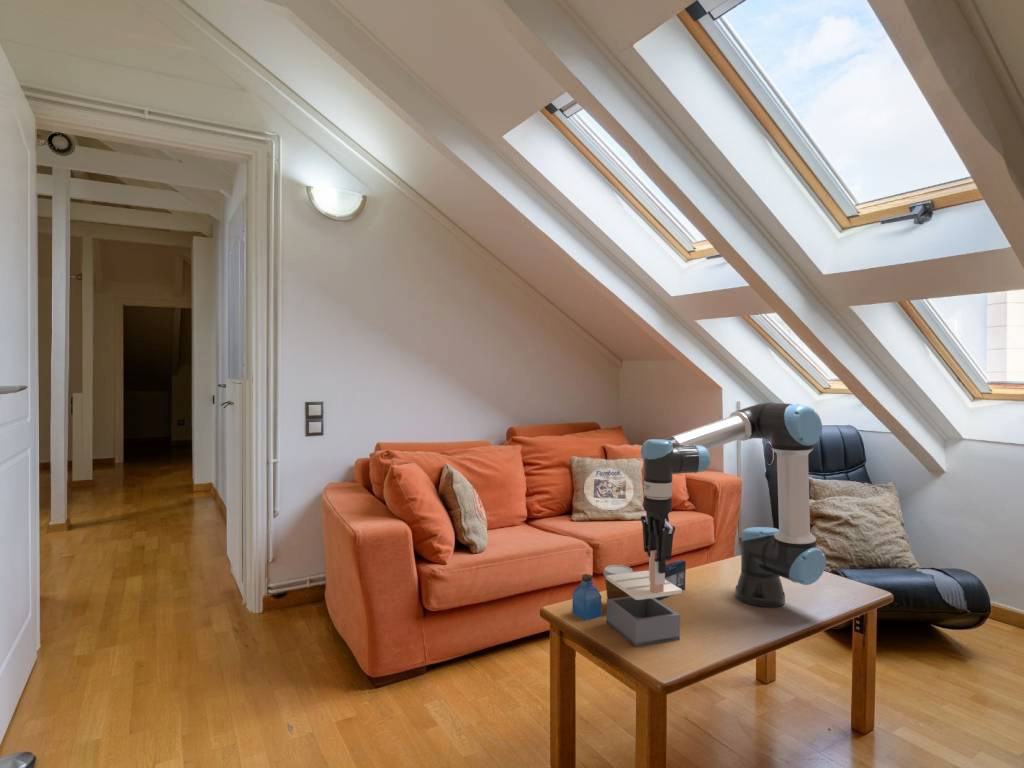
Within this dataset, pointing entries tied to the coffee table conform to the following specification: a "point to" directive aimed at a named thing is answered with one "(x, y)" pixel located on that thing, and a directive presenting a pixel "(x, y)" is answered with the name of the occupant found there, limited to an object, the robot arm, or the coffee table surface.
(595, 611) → the perfume bottle
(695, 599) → the coffee table surface
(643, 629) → the tub
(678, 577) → the vhs cassette tape
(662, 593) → the lid
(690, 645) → the coffee table surface
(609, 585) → the disposable coffee cup
